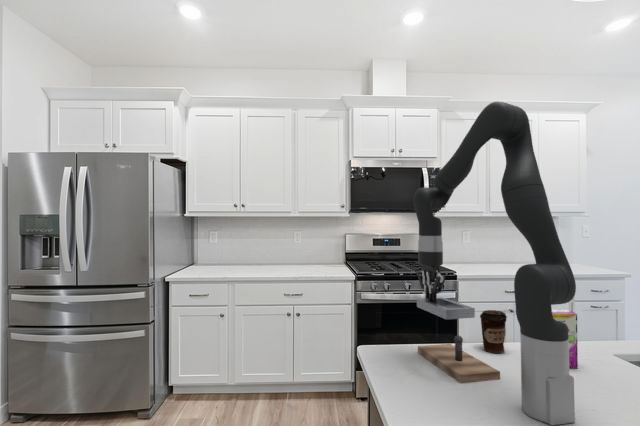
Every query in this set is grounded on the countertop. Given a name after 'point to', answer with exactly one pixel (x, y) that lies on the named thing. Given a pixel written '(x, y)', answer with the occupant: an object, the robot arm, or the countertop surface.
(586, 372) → the countertop surface
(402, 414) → the countertop surface
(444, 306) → the grey picture frame
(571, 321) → the candy bar box
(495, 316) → the coffee cup
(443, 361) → the board
